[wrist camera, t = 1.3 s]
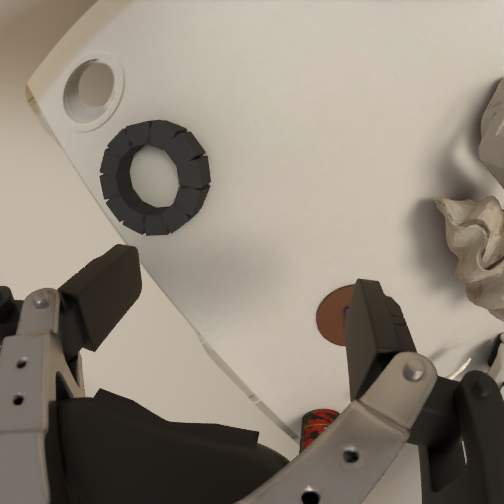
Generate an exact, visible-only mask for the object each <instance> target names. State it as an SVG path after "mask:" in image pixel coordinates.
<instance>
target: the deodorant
mask: <svg viewBox="0 0 504 504" xmlns="http://www.w3.org/2000/svg"><path fill="white" fill-rule="evenodd" d="M339 415H340V414H339V413H338V412H336V411H334V410H329V409H318V410H314V411H311V412H308V413H307V414H305V415H304V417H303V419H302V429H301V440H300V451H299V454H300V453H301V452H302V451H303V450H304V449H305V448H306V447H307V446H309V445H310V444H311V443H312V442H313V441H314V440H315V439H316V438H317V437H318V436H319V435H320V434H321V433H322V432H323V431H324V430H325V429H326V428H327V427H328V426H329V425H330V424H331V423H332V422H333V421H334V420H335V419H336V418H337V417H338V416H339Z"/></svg>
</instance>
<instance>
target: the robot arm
mask: <svg viewBox="0 0 504 504" xmlns="http://www.w3.org/2000/svg"><path fill="white" fill-rule="evenodd" d="M141 289H142V280H141V272H140V263H139V254H138V250H137V248H136V247H134V246H128V245H121V244H117V245H115V246H114V247H112V248H111V249H110V250H109V251H107V252H106V253H105V254H104V255H102V256H100V257H98V258H96V259H93V260H92V261H91V262H90V263H89V264H87V265H86V266H85V268H82V269H81V270H80V271H79V273H76V274H75V275H74V276H73V277H72V278H70V279H69V280H68V281H67V282H66V283H64V284H63V285H62V286H61V287H60V288H58V290H55V289H53V288H43V289H39V290H36V291H34V292H32V293H31V294H29V295H28V296H27V297H26V299H25V300H14V298H13V295H12V293H11V290H10V288H8V287H6V286H0V346H1V347H0V504H361V503H362V502H363V501H364V499H365V498H366V497H367V496H368V494H369V493H370V492H371V491H372V490H373V488H374V487H375V486H376V484H377V483H378V482H379V481H380V479H381V478H382V476H383V475H384V474H385V472H386V471H387V469H388V468H389V467H390V465H391V464H392V462H393V461H394V459H395V458H396V457H397V455H398V453H399V452H400V450H401V449H402V447H403V446H404V444H405V443H406V442H407V443H411V444H415V445H418V449H419V458H420V471H421V487H422V504H504V400H503V397H502V395H501V392H500V390H499V387H498V385H497V383H496V382H495V380H494V379H493V378H492V377H491V376H489V375H488V374H486V373H484V372H482V371H477V370H473V371H469V372H467V373H466V374H465V375H464V377H463V378H462V380H461V381H460V382H458V381H454V380H451V379H447V378H443V377H440V376H438V375H437V370H436V368H435V366H434V365H433V363H432V362H431V361H430V360H429V359H428V358H426V357H425V356H423V355H421V354H418V353H417V351H416V348H415V345H414V342H413V340H412V337H411V334H410V332H409V329H408V326H406V325H407V324H406V321H405V318H403V313H402V311H401V308H400V306H399V305H398V304H397V303H396V302H395V301H394V300H393V299H392V298H391V297H388V296H384V293H383V291H382V288H381V285H380V283H379V281H374V280H366V279H357V281H356V283H355V286H354V290H353V293H352V297H351V301H350V304H349V307H348V311H347V314H346V318H345V325H344V334H345V343H346V352H347V362H348V372H349V383H350V396H351V403H350V404H349V405H348V407H347V408H346V409H345V410H344V411H343V412H342V413H341V414H340V415H339V416H338V417H337V418H336V419H335V420H334V421H333V422H332V423H331V424H330V425H329V426H328V427H327V428H326V429H325V430H324V431H323V432H322V433H321V434H320V435H319V436H318V437H317V438H316V439H315V440H314V441H313V442H312V443H311V444H310V445H309V446H307V447H306V448H305V449H304V450H303V451H302V452H301V453H300V454H299V455H298V456H296V457H295V458H294V459H293V460H292V461H291V462H290V461H289V460H288V459H286V458H285V457H284V456H282V455H281V454H279V453H278V452H276V451H274V450H272V449H270V448H268V447H266V446H264V445H261V444H259V443H257V441H258V436H259V432H258V431H251V430H246V429H240V428H234V427H229V426H224V425H220V424H208V423H205V424H204V423H180V422H169V421H166V420H164V419H163V418H161V417H159V416H157V415H156V414H154V413H152V412H151V411H149V410H147V409H146V408H144V407H142V406H141V405H139V404H138V403H136V402H135V401H133V400H130V399H127V398H124V397H122V396H119V395H116V394H114V393H111V392H109V391H106V390H103V389H101V388H100V389H99V390H98V392H97V393H96V395H95V396H94V398H91V397H85V390H84V381H83V371H82V360H81V359H82V358H81V355H80V352H79V351H80V349H81V348H82V347H83V348H85V349H88V350H91V351H93V352H95V351H96V350H97V348H98V347H99V346H100V345H101V343H102V342H103V341H104V339H105V338H106V337H107V336H108V334H109V333H110V332H111V330H112V329H113V328H114V327H115V326H116V324H117V323H118V322H119V321H120V320H121V318H122V317H123V316H124V315H125V313H126V312H127V311H128V310H129V309H130V307H131V306H132V305H133V304H134V302H135V301H136V300H137V299H138V298H139V296H140V293H141ZM462 441H464V446H465V451H466V456H467V463H465V458H464V451H463V446H462Z"/></svg>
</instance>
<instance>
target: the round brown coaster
mask: <svg viewBox="0 0 504 504" xmlns="http://www.w3.org/2000/svg"><path fill="white" fill-rule="evenodd" d="M354 286H355V285H349V286H345V287H342V288H339V289H337V290H335V291H334V292H332V293H331V294H329V295H328V296H327V297H326V298H325V299H324V300H323V302H322V303H321V305H320V307H319V309H318V313H317V324H318V328H319V331H320V333H321V334H322V336H323V337H324V338H325V339H327V340H328V341H330V342H331V343H333V344H336V345H339V346H346V343H345V334H344V325H345V318H346V314H347V311H348V307H349V304H350V301H351V297H352V293H353V290H354ZM384 296H385V294H384Z"/></svg>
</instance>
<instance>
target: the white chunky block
mask: <svg viewBox="0 0 504 504" xmlns="http://www.w3.org/2000/svg"><path fill="white" fill-rule="evenodd" d="M487 369H488V371H487V373H486V374H488V375H489V376H491V377H492V378H493V379H494V380H495V382H496V383H497V385H498V387H499V390H500V392H501V395H502V397H503V400H504V333H502V334H501V336H499V339H498V342H497V344H496V346H495V348H494V350H493V353H492V355H491V357H490V359H489V361H488V364H487Z"/></svg>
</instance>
